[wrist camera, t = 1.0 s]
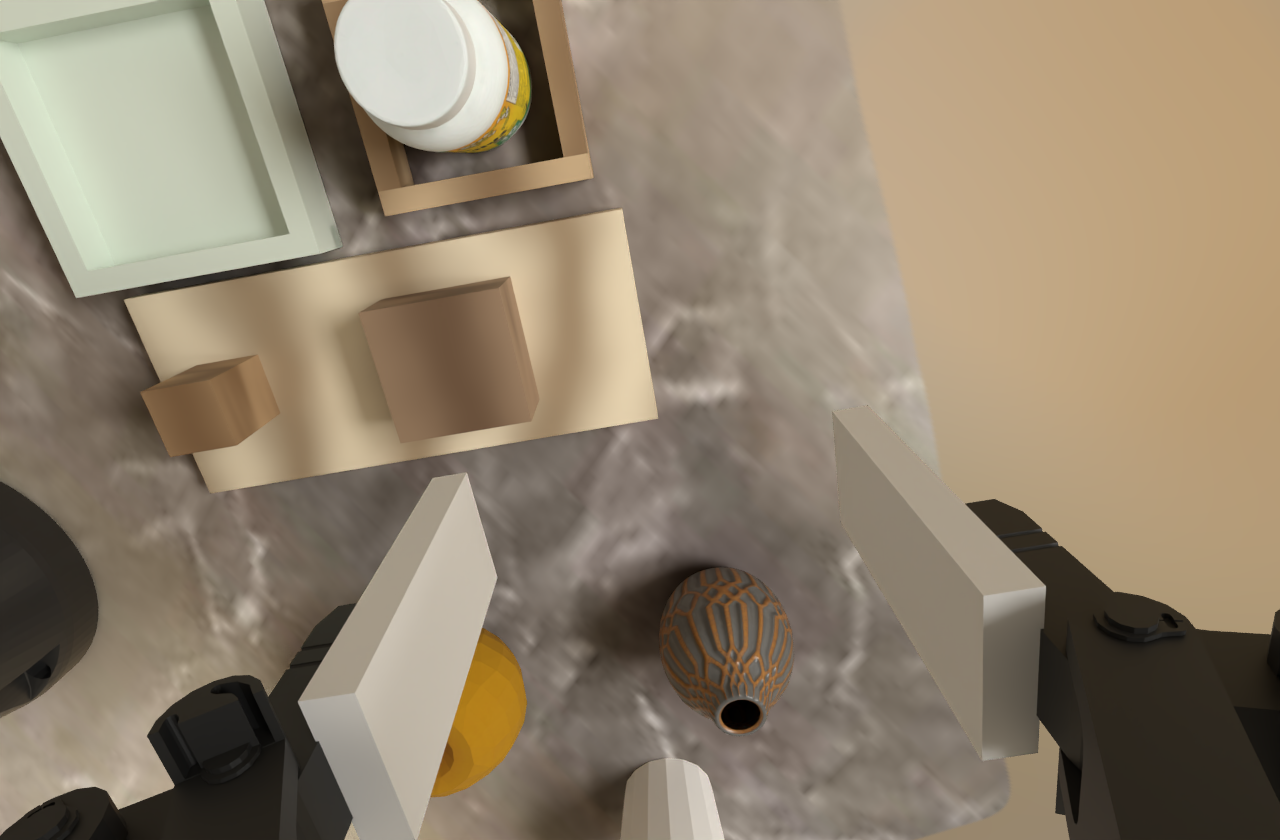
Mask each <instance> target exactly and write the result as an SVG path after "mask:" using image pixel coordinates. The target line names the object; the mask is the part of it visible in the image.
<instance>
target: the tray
mask: <svg viewBox="0 0 1280 840" xmlns="http://www.w3.org/2000/svg"><path fill="white" fill-rule="evenodd" d="M0 137H1V139H2V141H3V144H4V146H5V148H6V150H7V152H8V154H9V156H10V158H11V161H12V163H13V165H14V167H15V169H16V171H17V173H18V175H19V178H20V180H21V182H22V184H23V186H24V188H25V190H26V192H27V195H28V197H29V199H30V201H31V203H32V205H33V207H34V209H35V212H36V214H37V216H38V218H39V220H40V222H41V224H42V226H43V229H44V231H45V233H46V235H47V237H48V239H49V241H50V243H51V246H52V248H53V250H54V252H55V254H56V256H57V258H58V260H59V263H60V265H61V267H62V269H63V271H64V273H65V275H66V277H67V280H68V282H69V284H70V286H71V288H72V290H73V292H74V294H75V297H76V298H79V297H85V296H90V295H96V294H101V293H107V292H112V291H118V290H123V289H129V288H134V287H140V286H145V285H151V284H156V283H162V282H167V281H173V280H178V279H184V278H189V277H195V276H200V275H206V274H211V273H217V272H222V271H228V270H233V269H239V268H244V267H250V266H255V265H261V264H266V263H272V262H277V261H283V260H288V259H294V258H299V257H305V256H310V255H316V254H321V253H324V252H327V251H331V250H334V249H337V248H340V247H343V245H342V242H341V239H340V236H339V232H338V229H337V226H336V223H335V220H334V217H333V214H332V211H331V208H330V204H329V201H328V198H327V195H326V192H325V189H324V186H323V183H322V180H321V176H320V173H319V170H318V167H317V164H316V161H315V158H314V155H313V151H312V148H311V145H310V142H309V139H308V136H307V133H306V130H305V127H304V123H303V120H302V117H301V114H300V111H299V108H298V105H297V102H296V98H295V95H294V92H293V89H292V86H291V83H290V80H289V77H288V74H287V70H286V67H285V64H284V61H283V58H282V55H281V52H280V49H279V46H278V42H277V39H276V36H275V33H274V30H273V27H272V24H271V21H270V17H269V14H268V11H267V8H266V5H265V2H264V0H0Z"/></svg>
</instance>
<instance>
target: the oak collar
mask: <svg viewBox="0 0 1280 840" xmlns="http://www.w3.org/2000/svg"><path fill="white" fill-rule="evenodd" d="M347 1H348V0H322V4H323V7H324V10H325V14H326V17H327V21H328V24H329V27H330V31H331V34H332V37H333V41H334V36H335V28H336V24H337V20H338V17H339V15H340V13H341V11H342V9H343V7H344V5H345V4H346V2H347ZM533 5H534V10H535V15H536V20H537V25H538V31H539V36H540V41H541V46H542V51H543V56H544V61H545V66H546V71H547V76H548V81H549V86H550V91H551V96H552V101H553V106H554V111H555V116H556V121H557V126H558V131H559V136H560V141H561V147H562V152H563V157H564V158H559V159H553V160H548V161H543V162H537V163H532V164H526V165H521V166H516V167H510V168H505V169H499V170H494V171H489V172H483V173H478V174H472V175H467V176H462V177H456V178H451V179H445V180H440V181H435V182H429V183H424V184H418V185H414V182H413V178H412V174H411V171H410V167H409V164H408V160H407V156H406V153H405V149H404V145H403V143H401V142H399V141H397V140H395V139H394V138H392V137H391V136H389V135H388V134H387V133H385V132H384V131H383V130H382V129H381V128H379V127H378V126H377V125H376V124H375V123H374V121H373V120H372V119H371V118H370V117H369V115H368V114H367V113H366V111H365V110H364V109H363V108H362V107H361V106H360V105H359V104H358V103H357V102H356V101H355V99H354V98H353V97H352V95H351V94H350V93H349V95H350V99H351V102H352V105H353V109H354V112H355V116H356V119H357V122H358V126H359V129H360V133H361V136H362V139H363V143H364V146H365V150H366V153H367V156H368V160H369V163H370V166H371V170H372V173H373V177H374V180H375V183H376V187H377V190H378V194H379V197H380V200H381V204H382V207H383V211H384V214H385V216H389V215H395V214H400V213H406V212H411V211H417V210H422V209H427V208H433V207H438V206H444V205H449V204H455V203H460V202H466V201H471V200H476V199H482V198H487V197H493V196H498V195H504V194H509V193H515V192H520V191H525V190H531V189H536V188H542V187H547V186H553V185H558V184H564V183H569V182H574V181H580V180H585V179H591V178H593V177H594V175H593V169H592V164H591V158H590V153H589V148H588V142H587V137H586V131H585V126H584V121H583V115H582V110H581V104H580V99H579V94H578V88H577V83H576V77H575V72H574V67H573V61H572V56H571V50H570V45H569V40H568V34H567V29H566V23H565V18H564V13H563V7H562V2H561V0H533ZM348 92H349V91H348Z"/></svg>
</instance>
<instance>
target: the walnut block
mask: <svg viewBox="0 0 1280 840" xmlns="http://www.w3.org/2000/svg"><path fill="white" fill-rule="evenodd" d="M358 314H359V317H360V320H361V323H362V326H363V329H364V332H365V335H366V338H367V341H368V345H369V348H370V351H371V354H372V357H373V360H374V363H375V366H376V369H377V372H378V375H379V378H380V382H381V385H382V388H383V391H384V394H385V397H386V400H387V403H388V406H389V409H390V412H391V415H392V419H393V422H394V425H395V428H396V431H397V434H398V437H399V440H400V443H407V442H413V441H419V440H425V439H430V438H436V437H442V436H448V435H454V434H460V433H466V432H472V431H478V430H484V429H490V428H496V427H502V426H507V425H513V424H519V423H525V422H531V421H532V419H533V416H534V414H535V411H536V408H537V405H538V402H539V400H540V399H539V394H538V390H537V386H536V382H535V378H534V373H533V369H532V365H531V361H530V357H529V352H528V348H527V344H526V340H525V336H524V331H523V327H522V323H521V319H520V315H519V310H518V306H517V302H516V298H515V294H514V290H513V285H512V281H511V277H510V276H509V277H504V278H498V279H492V280H487V281H481V282H476V283H470V284H464V285H459V286H453V287H448V288H442V289H436V290H431V291H425V292H419V293H414V294H408V295H403V296H397V297H391V298H386V299H382V300H380V301H378V302H376V303H375V304H373V305H371V306H369V307H368V308H366V309H364V310H362V311H361V312H359V313H358Z"/></svg>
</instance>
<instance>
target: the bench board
mask: <svg viewBox="0 0 1280 840" xmlns="http://www.w3.org/2000/svg"><path fill="white" fill-rule="evenodd" d="M509 276H510V277H511V281H512V285H513V290H514V294H515V298H516V302H517V306H518V310H519V315H520V319H521V323H522V327H523V331H524V336H525V340H526V344H527V348H528V352H529V357H530V361H531V365H532V369H533V373H534V378H535V382H536V386H537V390H538V394H539V399H540V400H539V402H538V405H537V408H536V411H535V414H534V416H533V419H532V421H531V422H525V423H519V424H513V425H507V426H502V427H496V428H490V429H484V430H478V431H472V432H466V433H460V434H454V435H448V436H442V437H436V438H430V439H425V440H419V441H413V442H407V443H400V440H399V437H398V434H397V431H396V428H395V425H394V422H393V419H392V415H391V412H390V409H389V406H388V403H387V400H386V397H385V394H384V391H383V388H382V385H381V382H380V378H379V375H378V372H377V369H376V366H375V363H374V360H373V357H372V354H371V351H370V348H369V345H368V341H367V338H366V335H365V332H364V329H363V326H362V323H361V320H360V317H359V314H358V313H359V312H361V311H362V310H364V309H366V308H368V307H369V306H371V305H373V304H375V303H376V302H378V301H380V300H382V299H386V298H391V297H397V296H403V295H408V294H414V293H419V292H425V291H431V290H436V289H442V288H448V287H453V286H459V285H464V284H470V283H476V282H481V281H487V280H492V279H498V278H504V277H509ZM124 301H125V304H126V306H127V308H128V310H129V313H130V315H131V317H132V319H133V322H134V324H135V326H136V328H137V331H138V333H139V335H140V337H141V340H142V342H143V344H144V346H145V348H146V351H147V353H148V355H149V357H150V360H151V362H152V364H153V366H154V369H155V371H156V373H157V375H158V378H159V380H160V382H161V383H159V384H156V385H154V386H152V387H150V388H148V389H146V390H144V391H142V392H140V393H141V395H142V397H143V399H144V401H145V404H146V406H147V408H148V410H149V412H150V415H151V417H152V419H153V421H154V423H155V425H156V428H157V430H158V432H159V434H160V436H161V438H162V441H163V443H164V445H165V447H166V449H167V452H168V454H169V456H170V457H173V456H179V455H185V454H191V453H192V454H193V456H194V458H195V461H196V463H197V465H198V467H199V470H200V472H201V474H202V476H203V479H204V481H205V483H206V485H207V487H208V490H209V492H210V493H216V492H222V491H228V490H234V489H240V488H246V487H252V486H258V485H264V484H270V483H276V482H282V481H288V480H294V479H300V478H306V477H312V476H318V475H324V474H330V473H336V472H342V471H348V470H353V469H359V468H365V467H371V466H377V465H383V464H389V463H395V462H401V461H407V460H413V459H419V458H425V457H431V456H437V455H443V454H449V453H455V452H461V451H467V450H473V449H479V448H485V447H491V446H497V445H503V444H509V443H515V442H520V441H526V440H532V439H538V438H544V437H550V436H556V435H562V434H568V433H574V432H580V431H586V430H592V429H598V428H604V427H610V426H616V425H622V424H628V423H634V422H640V421H646V420H652V419H658V414H657V407H656V401H655V395H654V390H653V384H652V378H651V372H650V367H649V361H648V355H647V349H646V344H645V338H644V332H643V326H642V321H641V315H640V309H639V303H638V298H637V292H636V286H635V280H634V275H633V269H632V263H631V257H630V252H629V246H628V240H627V234H626V229H625V223H624V217H623V211H622V208H617V209H611V210H606V211H600V212H595V213H589V214H584V215H578V216H572V217H567V218H561V219H556V220H550V221H545V222H539V223H534V224H528V225H523V226H517V227H512V228H506V229H501V230H495V231H490V232H484V233H479V234H473V235H468V236H462V237H457V238H451V239H446V240H440V241H435V242H429V243H424V244H418V245H413V246H407V247H402V248H396V249H391V250H385V251H380V252H374V253H369V254H363V255H358V256H352V257H347V258H341V259H336V260H330V261H325V262H319V263H314V264H308V265H302V266H297V267H291V268H286V269H280V270H275V271H269V272H264V273H258V274H253V275H247V276H242V277H236V278H231V279H225V280H220V281H214V282H209V283H203V284H198V285H192V286H187V287H181V288H176V289H170V290H165V291H159V292H154V293H148V294H143V295H139V296H135V297H131V298H128V299H124Z"/></svg>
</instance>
